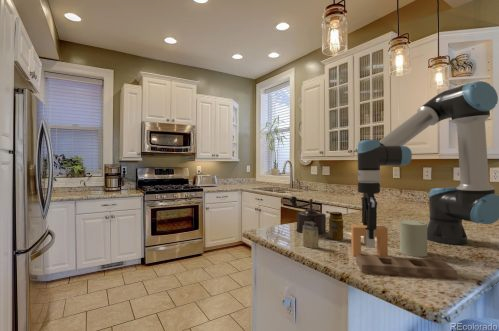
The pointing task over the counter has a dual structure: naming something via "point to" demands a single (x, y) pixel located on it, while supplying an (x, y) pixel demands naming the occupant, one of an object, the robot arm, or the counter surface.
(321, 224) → the manual coffee grinder
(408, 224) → the can
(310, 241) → the lighter
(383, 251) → the orange block
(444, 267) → the rail
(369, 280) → the counter surface
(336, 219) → the condiment
